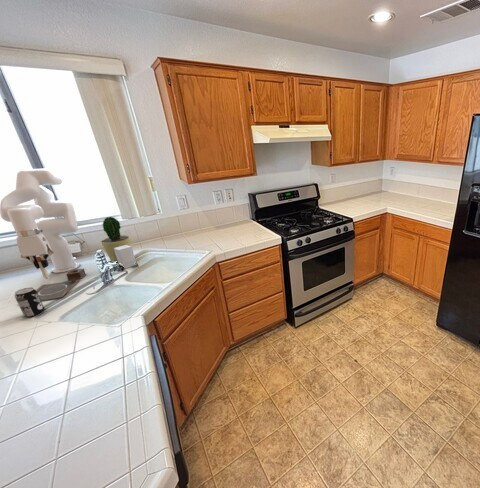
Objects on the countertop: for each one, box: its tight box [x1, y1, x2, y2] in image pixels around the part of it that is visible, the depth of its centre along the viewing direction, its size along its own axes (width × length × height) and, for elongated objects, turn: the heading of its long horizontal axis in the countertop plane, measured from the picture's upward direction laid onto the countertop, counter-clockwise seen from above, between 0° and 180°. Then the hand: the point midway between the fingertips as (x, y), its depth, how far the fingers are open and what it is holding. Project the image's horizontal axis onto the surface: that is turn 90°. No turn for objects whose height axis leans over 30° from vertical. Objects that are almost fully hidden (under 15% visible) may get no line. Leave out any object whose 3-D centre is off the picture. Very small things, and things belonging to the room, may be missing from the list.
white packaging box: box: [114, 245, 138, 269], centre depth 165 cm, size 7×7×13 cm
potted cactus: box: [100, 216, 132, 262], centre depth 171 cm, size 15×15×30 cm
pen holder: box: [65, 268, 87, 281], centre depth 152 cm, size 6×6×4 cm
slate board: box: [35, 279, 81, 302], centre depth 137 cm, size 20×16×1 cm
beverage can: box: [14, 286, 45, 318], centre depth 117 cm, size 7×7×12 cm
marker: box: [36, 256, 49, 280], centre depth 134 cm, size 2×2×12 cm
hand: (42, 267), depth 134 cm, fingers closed on marker, 2 cm apart
